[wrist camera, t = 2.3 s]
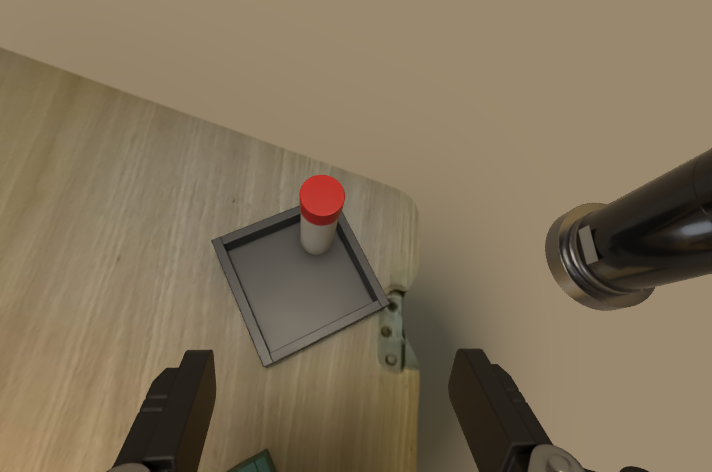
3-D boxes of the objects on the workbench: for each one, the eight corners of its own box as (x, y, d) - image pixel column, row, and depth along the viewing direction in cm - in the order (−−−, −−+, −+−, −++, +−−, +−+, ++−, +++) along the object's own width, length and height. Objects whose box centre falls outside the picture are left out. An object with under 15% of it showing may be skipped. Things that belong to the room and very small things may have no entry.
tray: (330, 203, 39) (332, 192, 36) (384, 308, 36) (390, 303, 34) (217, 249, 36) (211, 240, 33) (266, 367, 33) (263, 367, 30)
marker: (324, 219, 37) (333, 168, 28) (338, 248, 37) (352, 205, 27) (293, 231, 37) (292, 184, 27) (308, 261, 36) (311, 222, 26)
